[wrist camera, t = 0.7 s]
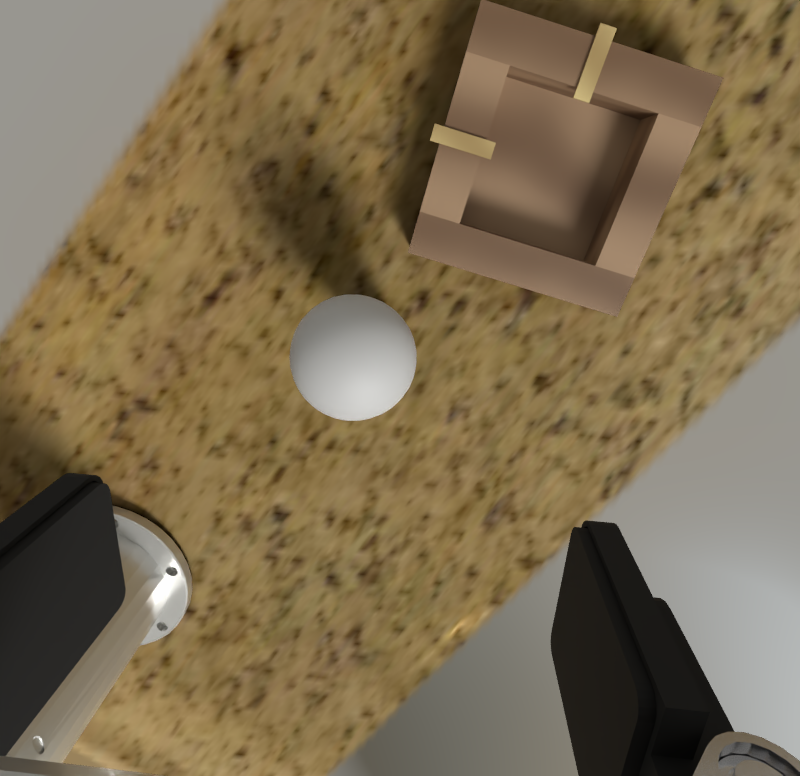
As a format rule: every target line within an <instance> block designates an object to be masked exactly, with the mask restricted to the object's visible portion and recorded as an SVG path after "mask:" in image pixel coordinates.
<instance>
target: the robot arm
mask: <svg viewBox="0 0 800 776" xmlns="http://www.w3.org/2000/svg"><path fill="white" fill-rule="evenodd" d="M191 595H192V577H191V574H190V570H189V566H188V564H187V562H186V560H185V558H184V556H183V554H182V552H181V551H180V549H179V548H178V547H177V545H176V544H175V543H174V541H173V540H172V539H171V538H170V537H169V536H168V535H167V534H166V533H165V532H164V531H163V530H162V529H161V528H159V527H158V526H156V525H155V524H154V523H152V522H151V521H149V520H148V519H146V518H144V517H142V516H140V515H138V514H136V513H134V512H132V511H129V510H126V509H123V508H120V507H117V506H112V500H111V494H110V489H109V487H108V485H107V484H105V483H103V481H102V480H101V478H100V477H98V476H96V475H86V474H75V473H67V474H65V475H63V476H62V477H60V478H59V479H58V480H57V481H55V482H54V483H53V484H51V485H50V486H49V487H47V488H46V489H45V490H43V491H42V492H41V493H39V494H38V495H37V496H35V497H34V498H33V499H31V500H30V501H29V502H28V503H26V504H25V505H24V506H22V507H21V508H20V509H18V510H17V511H16V512H14V513H13V514H12V515H10V516H9V517H8V518H6V519H5V520H4V521H3V522H1V523H0V776H164V775H156V774H148V773H140V772H132V771H124V770H116V769H108V768H99V767H90V766H82V765H73V764H65V763H63V761H64V760H65V758H66V757H67V755H68V754H69V752H70V751H71V749H72V747H73V746H74V744H75V743H76V741H77V740H78V738H79V737H80V735H81V734H82V732H83V731H84V729H85V728H86V726H87V725H88V723H89V722H90V720H91V719H92V717H93V716H94V714H95V713H96V711H97V710H98V708H99V707H100V705H101V703H102V702H103V700H104V699H105V697H106V696H107V694H108V693H109V691H110V690H111V688H112V687H113V685H114V684H115V682H116V681H117V679H118V678H119V676H120V675H121V673H122V672H123V670H124V669H125V667H126V666H127V664H128V663H129V661H130V660H131V658H132V656H133V655H134V653H135V652H136V650H137V649H138V647H139V646H140V645H145V644H148V643H151V642H154V641H157V640H159V639H161V638H162V637H164V636H166V635H167V634H169V633H170V632H171V631H172V630H173V629H174V628H175V627H176V626H177V625H178V623H179V622H180V620H181V619H182V617H183V616H184V614H185V612H186V610H187V608H188V606H189V604H190V601H191ZM551 651H552V657H553V661H554V665H555V670H556V675H557V680H558V684H559V689H560V693H561V697H562V702H563V707H564V711H565V715H566V720H567V725H568V729H569V734H570V738H571V743H572V747H573V752H574V756H575V761H576V766H577V770H578V775H579V776H800V761H799V760H798V759H797V758H795V757H794V756H792V755H791V754H790V753H788V752H787V751H786V750H784V749H783V748H781V747H780V746H777V745H776V744H773V743H772V742H770V741H768V740H766V739H764V738H762V737H758V736H755V735H752V734H748V733H744V732H734V730H733V728H732V726H731V724H730V722H729V720H728V718H727V716H726V714H725V713H724V711H723V709H722V707H721V705H720V703H719V701H718V699H717V697H716V695H715V694H714V692H713V690H712V688H711V686H710V684H709V682H708V680H707V678H706V676H705V674H704V672H703V671H702V669H701V667H700V665H699V663H698V661H697V659H696V657H695V655H694V653H693V651H692V650H691V648H690V646H689V644H688V642H687V640H686V638H685V636H684V634H683V632H682V631H681V628H680V627H679V625H678V623H677V621H676V619H675V617H674V615H673V613H672V611H671V609H670V608H669V606H668V605H667V603H666V602H665V601H664V600H662V599H661V598H653V597H652V594H651V592H650V590H649V588H648V586H647V584H646V582H645V580H644V578H643V576H642V574H641V572H640V570H639V568H638V566H637V564H636V562H635V560H634V558H633V556H632V554H631V552H630V550H629V548H628V546H627V544H626V542H625V540H624V538H623V536H622V534H621V532H620V530H619V528H618V526H617V525H616V524H615V523H607V522H596V521H584V522H583V524H582V527H581V528H579V527H574V528H573V530H572V533H571V537H570V542H569V547H568V552H567V557H566V562H565V567H564V573H563V577H562V582H561V587H560V592H559V598H558V602H557V607H556V612H555V618H554V623H553V627H552V633H551Z"/></svg>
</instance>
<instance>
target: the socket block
mask: <svg viewBox="0 0 800 776" xmlns="http://www.w3.org/2000/svg"><path fill="white" fill-rule="evenodd" d="M616 29H617V28H615V27H612V26H609V25H606V24H602V23H600V24H599V27H598V30H597V33H596V35H595V36H594V35H591V34H588V33H585V32H582V31H579V30H576V29H572V28H569V27H566V26H563V25H560V24H557V23H554V22H551V21H548V20H545V19H542V18H539V17H536V16H533V15H530V14H527V13H523V12H520V11H517V10H514V9H511V8H508V7H505V6H502V5H499V4H496V3H493V2H490V1H487V0H481V2H480V6H479V9H478V12H477V16H476V19H475V23H474V26H473V30H472V33H471V37H470V40H469V44H468V47H467V50H466V54H465V57H464V61H463V64H462V68H461V71H460V75H459V78H458V81H457V85H456V88H455V92H454V95H453V99H452V102H451V106H450V109H449V112H448V116H447V119H446V123H445V126H441V125H438V124H434V128H433V131H432V135H431V139H430V141H433V142H436V143H439V147H438V150H437V154H436V157H435V161H434V164H433V168H432V171H431V175H430V178H429V181H428V185H427V188H426V192H425V195H424V199H423V202H422V206H421V209H420V213H419V216H418V219H417V223H416V226H415V230H414V233H413V237H412V240H411V244H410V247H409V250H408V253H411V254H414V255H418V256H421V257H424V258H427V259H431V260H434V261H437V262H440V263H444V264H447V265H450V266H453V267H457V268H460V269H463V270H467V271H470V272H473V273H476V274H480V275H483V276H486V277H489V278H493V279H496V280H499V281H502V282H506V283H509V284H512V285H515V286H519V287H522V288H525V289H528V290H532V291H535V292H538V293H541V294H545V295H548V296H551V297H554V298H558V299H561V300H564V301H567V302H571V303H574V304H577V305H580V306H584V307H587V308H590V309H593V310H597V311H600V312H603V313H606V314H610V315H613V316H616V317H617V316H618V314H619V311H620V309H621V307H622V305H623V302H624V300H625V298H626V296H627V293H628V291H629V289H630V287H631V284H632V282H633V280H634V278H635V275H636V273H637V271H638V269H639V266H640V264H641V262H642V260H643V257H644V255H645V253H646V251H647V248H648V246H649V244H650V242H651V239H652V237H653V235H654V233H655V230H656V228H657V226H658V224H659V221H660V219H661V217H662V215H663V212H664V210H665V208H666V206H667V203H668V201H669V199H670V197H671V194H672V192H673V190H674V188H675V185H676V183H677V181H678V179H679V176H680V174H681V172H682V170H683V167H684V165H685V163H686V161H687V158H688V156H689V154H690V152H691V149H692V147H693V145H694V143H695V140H696V138H697V136H698V133H699V131H700V129H701V127H702V124H703V122H704V120H705V118H706V115H707V113H708V111H709V109H710V106H711V104H712V102H713V100H714V97H715V95H716V93H717V91H718V88H719V86H720V84H721V82H722V79H723V77H719V76H716V75H713V74H710V73H707V72H704V71H701V70H698V69H695V68H692V67H689V66H686V65H683V64H680V63H677V62H674V61H670V60H667V59H664V58H661V57H658V56H655V55H652V54H649V53H646V52H643V51H640V50H637V49H634V48H631V47H628V46H625V45H621V44H618V43H615V42H612V40H613V38H614V35H615V32H616Z"/></svg>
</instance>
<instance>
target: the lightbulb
mask: <svg viewBox="0 0 800 776" xmlns="http://www.w3.org/2000/svg"><path fill="white" fill-rule="evenodd" d="M290 368H291V371H292V375H293V378H294V381H295V383H296V385H297V387H298V389H299V391H300V393H301V394H302V395H303V397H304V398H305V399H306V400H307V401H308V402H309V403H310V404H311V405H312V406H313V407H314V408H316V409H317V410H319V411H320V412H322V413H324V414H326V415H328V416H331V417H333V418H336V419H341V420H347V421H359V420H365V419H370V418H372V417H375V416H378V415H381V414H383V413H384V412H386V411H388V410H389V409H391V408H392V407H393V406H394V405H395V404H396V403H397V402H399V401H400V400H401V398H402V397H403V396H404V394H405V393H406V392H407V390H408V389H409V387H410V384H411V382H412V380H413V378H414V373H415V368H416V347H415V342H414V338H413V336H412V333H411V331H410V329H409V327H408V326H407V324H406V323H405V321H404V320H403V318H402V317H401V316H400V315H399V314H398V313H397V312H396V311H395V310H394V309H393V308H391V307H390V306H388V305H387V304H385V303H384V302H382V301H379V300H377V299H375V298H372V297H368V296H364V295H359V294H346V295H340V296H335V297H332V298H330V299H327V300H325V301H323V302H321V303H320V304H318V305H317V306H315V307H314V308H313V309H311V310H310V311H309V312H308V313H307V315H306V316H305V317H304V318H303V319H302V320H301V322H300V323H299V325H298V327H297V328H296V330H295V333H294V336H293V339H292V342H291V349H290Z"/></svg>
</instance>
